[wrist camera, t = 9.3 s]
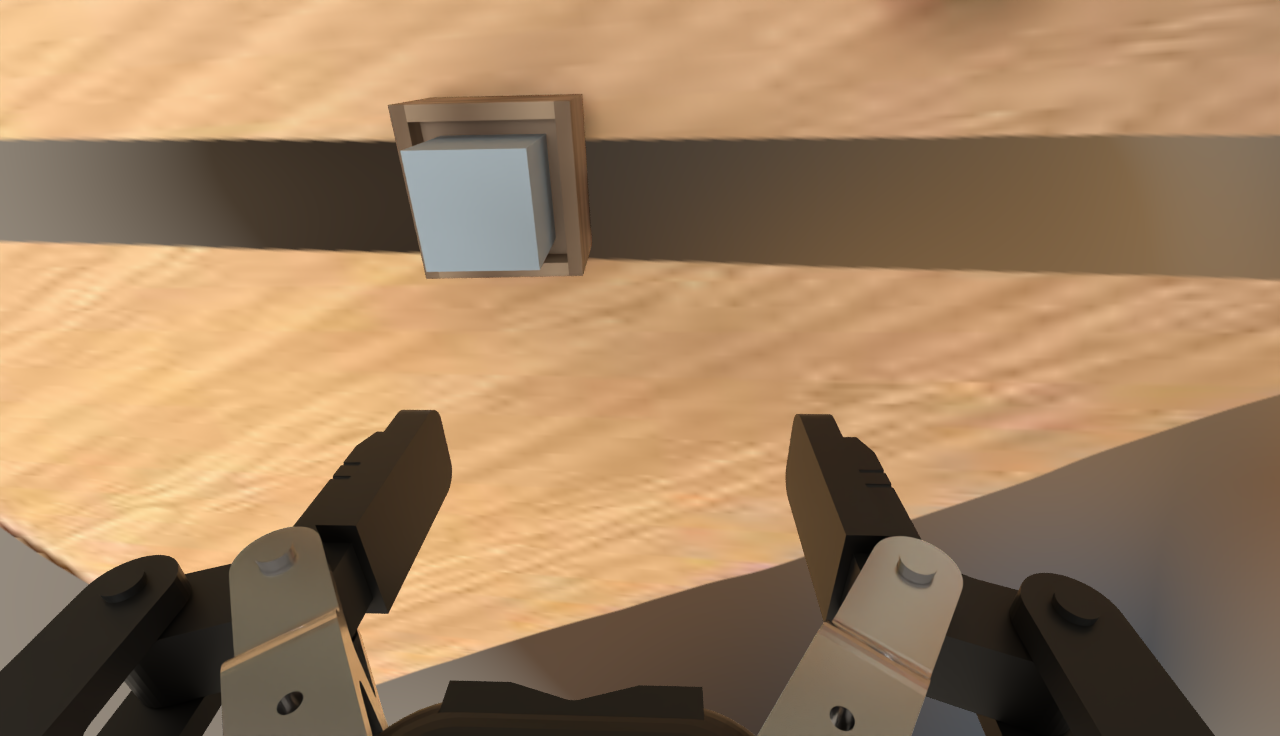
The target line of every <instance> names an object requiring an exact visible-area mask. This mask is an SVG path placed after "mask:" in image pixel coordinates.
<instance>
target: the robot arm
mask: <svg viewBox="0 0 1280 736" xmlns="http://www.w3.org/2000/svg"><path fill="white" fill-rule="evenodd" d="M451 478H452V465H451V460H450V456H449V451H448V447H447V443H446V438H445V434H444V430H443V425H442V421H441V417H440V415H439V413H438V412H437V411H436V410H401V411H400V412H398V414H397V415H396V416H395V418H394V419H393V420H392V422H391V423H390V424H389V426H388V427H387V428H386V430H385V431H384V432H376V433H374V434H373V435H371V436H370V437H368V438H367V439H366V440H364V441H363V442H361V443H360V444H358V445H357V446H356V447H355V448H354V450H353V451H352V452H351V453H350V455H349V456H348V457H347V459H346V460H345V461H344V465H341V466H340V467H339V469H338V470H337V471H336V473H335V474H334V475H333V479H330V480H329V481H328V483H327V484H326V485H325V487H324V488H323V489H322V490H321V492H320V493H319V494H318V495H317V497H316V498H315V499H314V501H313V502H312V503H311V504H310V506H309V507H308V508H307V509H306V511H305V512H304V513H303V515H302V516H301V517H300V518H299V520H298V521H297V522H296V523H295V525H294V526H293V527H288V528H283V529H279V530H276V531H273V532H271V533H269V534H266V535H264V536H262V537H260V538H259V539H257V540H255V541H254V542H252V543H251V544H249V545H248V546H247V547H246V548H244V549H243V550H242V551H241V552H240V553H239V554H238V556H237V557H236V558H235V559H234V561H233V563H232V564H228V565H224V566H219V567H215V568H210V569H206V570H201V571H197V572H193V573H188V574H184V572H183V571H182V569H181V567H180V566H179V564H178V563H177V561H176V560H175V559H174V558H172V557H170V556H165V555H152V556H146V557H141V558H138V559H135V560H132V561H129V562H126V563H124V564H122V565H119V566H117V567H115V568H113V569H111V570H110V571H108V572H106V573H104V574H103V575H101V576H100V577H98V578H97V579H96V580H94V581H93V582H92V583H90V584H89V585H88V586H87V587H86V588H85V589H84V590H83V591H81V593H79V594H78V595H77V596H76V598H74V599H73V600H72V601H71V602H70V604H68V605H67V606H66V607H65V608H64V609H63V610H62V611H61V612H60V613H59V614H58V615H57V616H56V617H55V618H54V619H53V620H52V621H51V622H50V623H49V624H48V625H47V626H46V627H45V628H44V629H43V630H42V631H41V632H40V633H39V634H38V635H37V636H36V637H35V638H34V639H33V640H32V641H31V642H30V643H29V644H28V645H27V646H26V647H25V648H24V649H23V650H22V651H21V652H20V653H19V654H18V655H16V657H14V659H13V660H11V662H9V663H8V664H7V665H6V666H5V667H4V668H3V669H2V670H1V671H0V736H83V734H84V732H85V731H86V729H87V727H88V726H89V725H90V723H91V721H92V720H93V719H94V718H95V717H96V716H97V714H98V713H99V712H100V710H101V709H102V708H103V707H104V705H105V704H106V703H107V702H108V700H109V699H110V698H111V697H112V696H113V694H114V693H115V692H116V691H117V689H118V688H119V687H120V686H121V684H122V683H123V682H124V681H125V683H126V684H127V685H128V686H129V688H130V689H131V690H132V691H131V692H130V693H129V695H128V696H127V697H126V699H125V700H124V701H123V702H122V704H121V705H120V706H119V708H118V709H117V710H116V711H115V713H114V714H113V715H112V717H111V718H110V719H109V720H108V722H107V723H106V724H105V726H104V727H103V728H102V730H101V731H100V732H99V733H98V735H97V736H202V735H203V734H204V732H205V731H206V729H207V727H208V726H209V724H210V723H211V721H212V719H213V718H214V716H215V715H216V713H217V711H218V710H219V708H220V706H221V705H222V728H223V736H755V735H754V734H753V733H751V732H750V731H749V730H748V729H746V728H745V727H743V726H742V725H740V724H738V723H737V722H735V721H733V720H732V719H730V718H727V717H726V716H723V715H721V714H719V713H717V712H714V711H711V710H708V709H705V708H704V707H703V691H702V687H679V686H635V687H631V688H627V689H623V690H618V691H614V692H610V693H606V694H602V695H598V696H593V697H589V698H585V699H581V700H566V699H563V698H560V697H557V696H554V695H550V694H547V693H544V692H541V691H538V690H535V689H531V688H528V687H525V686H522V685H519V684H515V683H512V682H486V681H484V682H482V681H450V682H449V685H448V687H447V690H446V693H445V697H444V699H443V702H442V703H438V704H435V705H432V706H429V707H426V708H424V709H421V710H418V711H416V712H414V713H412V714H410V715H408V716H406V717H404V718H402V719H401V720H399V721H398V722H396V723H394V724H392V725H391V726H389V727H388V724H387V722H386V719H385V716H384V713H383V709H382V706H381V703H380V699H379V696H378V692H377V689H376V685H375V682H374V679H373V675H372V672H371V668H370V665H369V661H368V658H367V654H366V651H365V647H364V644H363V641H362V637H361V634H360V632H359V629H358V626H359V624H360V622H361V620H362V619H363V617H364V615H365V613H381V614H388V613H389V611H390V609H391V607H392V605H393V603H394V601H395V599H396V597H397V595H398V593H399V591H400V589H401V587H402V585H403V582H404V580H405V578H406V576H407V574H408V572H409V570H410V568H411V566H412V564H413V562H414V560H415V558H416V556H417V554H418V552H419V550H420V548H421V546H422V544H423V542H424V540H425V538H426V536H427V534H428V532H429V530H430V528H431V525H432V523H433V521H434V519H435V517H436V515H437V513H438V511H439V509H440V507H441V505H442V503H443V501H444V499H445V497H446V495H447V493H448V491H449V488H450V484H451ZM786 490H787V496H788V500H789V503H790V507H791V510H792V513H793V517H794V520H795V524H796V527H797V531H798V534H799V538H800V541H801V545H802V548H803V552H804V555H805V559H806V562H807V566H808V569H809V572H810V576H811V579H812V583H813V586H814V589H815V593H816V597H817V600H818V604H819V607H820V610H821V614H822V618H823V621H824V623H823V625H822V626H821V627H820V629H819V631H818V632H817V634H816V636H815V638H814V639H813V641H812V643H811V644H810V646H809V648H808V650H807V651H806V653H805V655H804V656H803V658H802V660H801V661H800V663H799V665H798V667H797V668H796V670H795V672H794V673H793V675H792V677H791V679H790V680H789V682H788V684H787V685H786V687H785V689H784V691H783V692H782V694H781V696H780V698H779V699H778V701H777V703H776V704H775V706H774V708H773V710H772V711H771V713H770V715H769V716H768V718H767V720H766V722H765V723H764V725H763V727H762V728H761V730H760V732H759V734H758V735H757V736H911V734H912V732H913V729H914V726H915V724H916V721H917V718H918V715H919V712H920V710H921V707H922V704H923V701H924V698H925V696H927V697H930V698H933V699H936V700H939V701H942V702H945V703H947V704H950V705H953V706H956V707H959V708H962V709H965V710H968V711H972V712H974V713H976V714H977V716H978V719H979V721H980V723H981V726H982V728H983V730H984V732H985V735H986V736H1215V735H1214V734H1213V733H1212V731H1211V730H1210V729H1209V727H1208V726H1207V725H1206V724H1205V722H1204V721H1203V720H1202V718H1201V717H1200V716H1199V714H1198V713H1197V712H1196V710H1195V709H1194V708H1193V706H1192V705H1191V704H1190V702H1189V701H1188V700H1187V698H1186V697H1185V696H1184V695H1183V693H1182V692H1181V691H1180V689H1179V688H1178V687H1177V685H1176V684H1175V683H1174V682H1173V680H1172V679H1171V677H1170V676H1169V675H1168V673H1167V672H1166V671H1165V669H1164V668H1163V667H1162V666H1161V664H1160V663H1159V662H1158V660H1157V659H1156V658H1155V656H1154V655H1153V654H1152V652H1151V651H1150V650H1149V648H1148V647H1147V646H1146V644H1145V643H1144V642H1143V641H1142V639H1141V638H1140V637H1139V635H1138V634H1137V633H1136V631H1135V630H1134V629H1133V627H1132V626H1131V625H1130V623H1129V622H1128V621H1127V619H1126V618H1125V617H1124V615H1123V614H1122V613H1121V612H1120V611H1119V609H1118V608H1117V607H1116V606H1115V605H1114V604H1113V603H1112V602H1111V601H1110V600H1109V599H1107V598H1106V597H1105V596H1103V595H1102V594H1101V593H1099V592H1098V591H1096V590H1095V589H1093V588H1091V587H1090V586H1088V585H1086V584H1084V583H1082V582H1079V581H1077V580H1075V579H1072V578H1069V577H1066V576H1063V575H1058V574H1052V573H1039V574H1034V575H1031V576H1029V577H1027V578H1026V579H1025V580H1024V581H1023V583H1022V584H1021V586H1020V589H1019V590H1015V589H1011V588H1007V587H1003V586H1000V585H996V584H992V583H988V582H985V581H981V580H977V579H974V578H971V577H968V576H966V575H963V574H961V572H960V570H959V568H958V567H957V565H956V564H955V563H954V561H953V560H952V559H951V558H950V557H949V556H948V555H946V554H945V553H944V552H943V551H942V550H940V549H938V548H937V547H935V546H934V545H931V544H929V543H927V542H925V541H922V540H921V538H920V536H919V535H918V532H917V531H916V529H915V527H914V525H913V523H912V521H911V520H910V518H909V516H908V514H907V512H906V510H905V508H904V507H903V505H902V503H901V501H900V499H899V497H898V495H897V494H896V492H895V490H894V488H892V487H891V482H890V481H889V479H888V477H887V475H886V473H884V470H883V468H882V466H881V464H880V462H879V460H878V458H877V457H876V455H875V453H874V452H873V451H872V450H871V449H870V448H868V447H867V446H866V445H865V444H864V443H863V442H861V441H860V440H859V439H858V438H857V437H843V436H842V434H841V432H840V430H839V428H838V426H837V424H836V422H835V420H834V418H833V416H832V415H830V414H796V415H795V417H794V421H793V426H792V433H791V439H790V446H789V453H788V459H787V466H786Z"/></svg>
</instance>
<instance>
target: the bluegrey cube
mask: <svg viewBox="0 0 1280 736" xmlns="http://www.w3.org/2000/svg"><path fill="white" fill-rule="evenodd" d="M400 152H401V157H402V162H403V166H404V171H405V175H406V180H407V185H408V189H409V194H410V198H411V203H412V208H413V212H414V217H415V221H416V226H417V230H418V235H419V240H420V244H421V249H422V253H423V258H424V263H425V267H426V272H451V271H515V270H540V269H541V267H542V265H543V263H544V261H545V259H546V257H547V255H548V253H549V251H550V249H551V247H552V245H553V243H554V241H555V239H556V235H555V224H554V214H553V203H552V192H551V182H550V171H549V161H548V150H547V140H546V134H506V135H454V136H439V137H436V138H434V139H431V140H428V141H425V142H423V143H420V144H417V145H415V146H412V147H409V148H406V149H404V150H401V151H400Z"/></svg>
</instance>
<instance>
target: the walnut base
mask: <svg viewBox="0 0 1280 736" xmlns="http://www.w3.org/2000/svg"><path fill="white" fill-rule="evenodd" d="M388 109H389V113H390V118H391V122H392V127H393V131H394V136H395V140H396V144H397V149H398V154H399V158H400V163H401V167H402V171H403V176H404V180H405V185H406V189H407V194H408V198H409V203H410V207H411V212H412V216H413V221H414V225H415V230H416V234H417V239H418V243H419V248H420V252H421V257H422V261H423V266H424V270H425V275H426V279H438V278H490V277H543V276H583V274H584V270H585V267H586V263H587V260H588V256H589V253H590V249H591V246H592V239H591V225H590V208H589V194H588V193H589V192H588V178H587V163H586V147H585V132H584V117H583V102H582V94H567V95H526V96H485V97H444V98H427V99H421V100H415V101H409V102H403V103H398V104H392V105H388ZM506 134H546V140H547V150H548V161H549V171H550V182H551V192H552V203H553V214H554V224H555V235H556V239H555V241H554V243H553V245H552V247H551V249H550V251H549V253H548V255H547V257H546V259H545V261H544V263H543V265H542V267H541V269H540V270H515V271H451V272H426V267H425V263H424V258H423V253H422V249H421V244H420V240H419V235H418V230H417V226H416V221H415V217H414V212H413V208H412V203H411V198H410V194H409V189H408V185H407V180H406V175H405V171H404V166H403V162H402V157H401V152H400V151H401V150H404V149H406V148H409V147H412V146H415V145H417V144H420V143H423V142H425V141H428V140H431V139H434V138H436V137H439V136H454V135H506Z"/></svg>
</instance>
